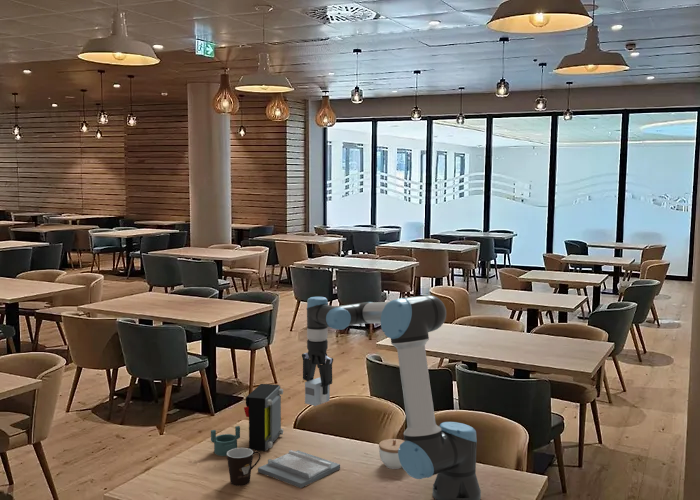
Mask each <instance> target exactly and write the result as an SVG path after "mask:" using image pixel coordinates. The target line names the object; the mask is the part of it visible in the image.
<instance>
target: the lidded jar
mask: <svg viewBox="0 0 700 500" xmlns="http://www.w3.org/2000/svg"><path fill="white" fill-rule="evenodd" d="M403 442H404V439H400V438H399V439H397V438H389V439H388V438H387V439H383V440H381V441H380V442H379V443H378V449H379V453H378V454H379V458H380V460H381V462H382V463H383V464H384V465H385V467H386V468H387V469H391V470H399V469H403V467H402V465H401V463H400V461H399V457H398V449H399V448H400V445H401V444H402V443H403Z"/></svg>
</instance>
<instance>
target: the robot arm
mask: <svg viewBox="0 0 700 500" xmlns="http://www.w3.org/2000/svg"><path fill="white" fill-rule="evenodd" d="M306 303H307V305H306V338H307V340H306V349H307V352H304V353H302V354H301V357H302V380H303V381H305V382H307V381H310V380H313V379H315V378H314V377H315V371H316V367H317V368H318V372H319V377H320V378H321V383H322V385H321V386H320V403H321V404H320V405H322V404H324V403H327V402H326V394H327V393H328V385H332V384H333V362H334V358H333V357H329V356H328V353H327V351H328V345H329V343H328V333H329V332H328V328H332V330H340V331H341V330H345V329H346V328H348V327H349V326H350V327H351V326H354V325H361V324H363V325H364V324H365V325H367V324H369V325H370V324H380V328H381V331H382V333H384V335H385V336H386V337H387V338H389V339H390V341H391V345H392V346H393V347H395V349H396V351H397V359H398V364H399V372H400V373H399V374H400V380H401V386H402V394H403V395H402V396H403V403H404V410H405V417H406V425H407V427H406V429H405V430H404V432H403V438H404V439H403V440H404V442H403V443H402V444H401V445H400V448H399V449H398V457H399V461H400V463H401V465H402V469H403V470H404V471H405V472H406V474H407V475H408V476H410V477H411V478H413V479H416V480H423V479H426V478H431V477H433V476H435V475H436V477H435V479H434V482H433V484H432V485H433V486H432V497H433V498H434V499H435V500H481V498H482V497H481V496H482V492H481V491H482V490H481V488H480V485H479V480H478V477H477V474H476V470H477V443H478V440H477V431H476V429H475V428H474V427H472V426H470V425H469V424H465V423H462V422H457V421H443V422H441V423H440V424H439V425H437V422H436V417H435V410H434V402H433V396H432V389H431V383H430V374H429V367H428V360H427V353H426V351H427V350H426V344H427V342H429V340H430V336H429V333H431V332H435V331H436V330H438V329H440V328H441V327H442V326H443V324H444V323H445V322H446V319H447V308H446V306H445V304H444V302H443V301H442V300H441V299H440V298H439V297H437V296H434V295H432V294H431V295H429V294H426V295H425V294H424V295H418V296H410V297H400V298H397V299H392V300H390V301H379V302H377V301H376V302H375V301H374V302H373V301H363V302H358V303H349V304H344V305H343V304H342V305H329V302H328V298H327V297H324V296H311V297H309V298H307V302H306Z"/></svg>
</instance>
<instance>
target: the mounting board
mask: <svg viewBox="0 0 700 500" xmlns="http://www.w3.org/2000/svg"><path fill="white" fill-rule="evenodd" d="M294 451H295V452H298V453H301V454H304V455H307V456H310V457H313V458H316V459H319V460H322V461H325V462H328V463H331V468H330V469H328V470H326V471H324V472H322V473H320V474H318V475H316V476H314V477H312V478H310V479H307V478H304V477H302V476H299V475H296V474H293V473H291V472H288V471H285V470H282V469H280V468H277V467H274V466H271V465H269V464H268V463H266V464H264V465H261V466H259V467H258V468H257V473H260V474H261V475H262V474H263V475H265V476H267V475H268V477H269V478H270V477H271V478H273V477H274V478H273V479H275V478H276V480H278V479H279V480H278V481H281V482H283V481H284V482H283V483H287V484H288V485H292V486H294V487H297V488H299V489H302V487H303V488H305V487H306V485H307V486H308V484H309V485H311V484H313V483H314V482H316V481H319V480H320V479H323V478H325V477H326V476H329V475H331V474H332V473H334V472H336V471H339V470H341V463H337V462H334V461H331V460H328V459H325V458H322V457H319V456H316V455H313V454H311V453H307V452H305V451H300V450H294ZM310 483H311V484H310ZM304 486H305V487H304Z"/></svg>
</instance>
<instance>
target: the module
mask: <svg viewBox="0 0 700 500" xmlns="http://www.w3.org/2000/svg"><path fill="white" fill-rule="evenodd" d="M321 385H322V383H321V378H320V376H319V377H317V378H313V380H310V381H305V382H304V404H307V405H310V406H313V407H316V406H319V405H322V404H321V403H320V386H321ZM330 385H331V384H330ZM330 385H328V393H327V394H326V402H325V403H327V402H330V399H331V398H330V396H331V395H330V390H331V388H330V387H331V386H330Z"/></svg>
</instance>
